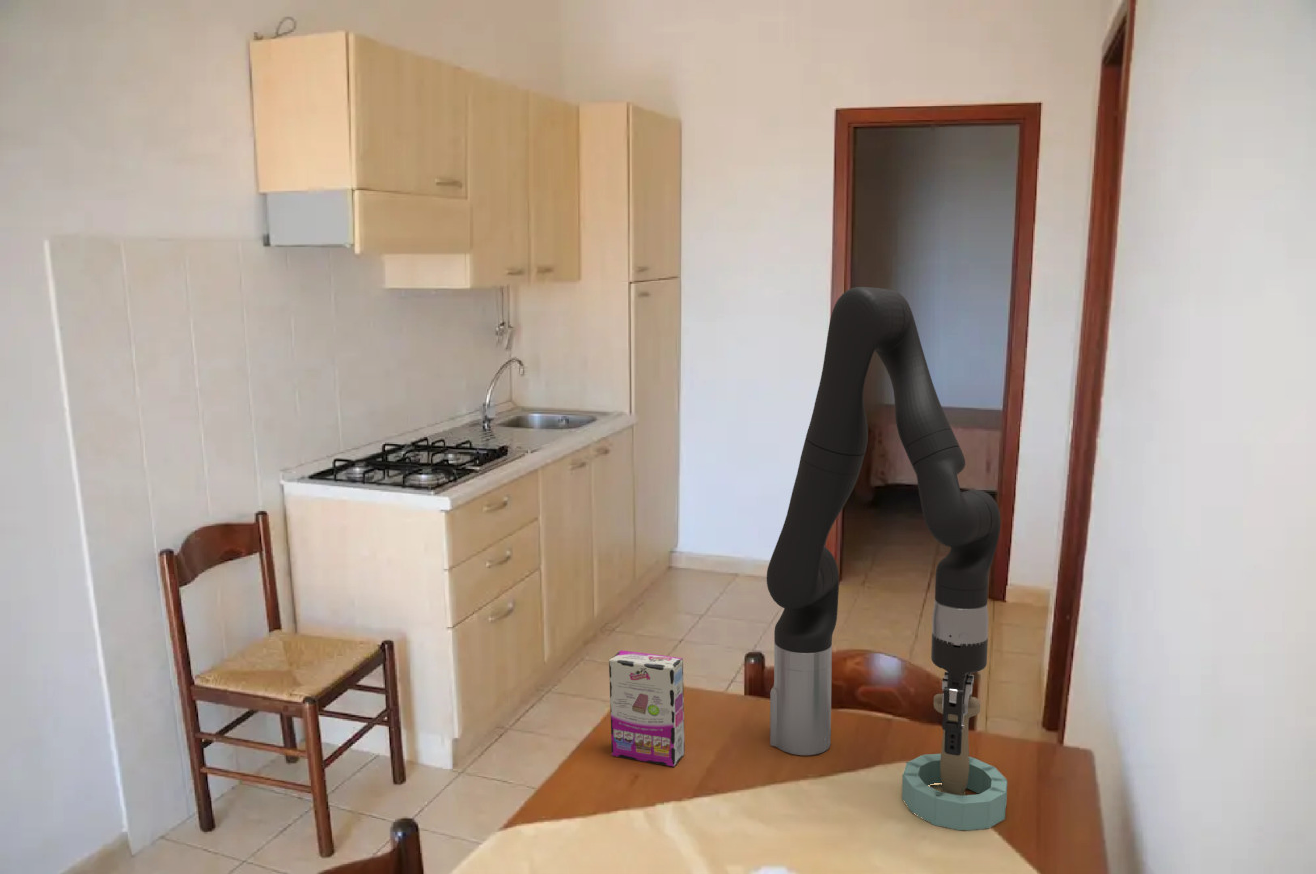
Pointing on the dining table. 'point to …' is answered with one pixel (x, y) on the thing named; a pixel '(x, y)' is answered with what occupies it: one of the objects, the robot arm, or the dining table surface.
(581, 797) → the dining table surface
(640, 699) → the candy bar box
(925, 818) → the notched ring
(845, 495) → the robot arm
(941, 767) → the handle
